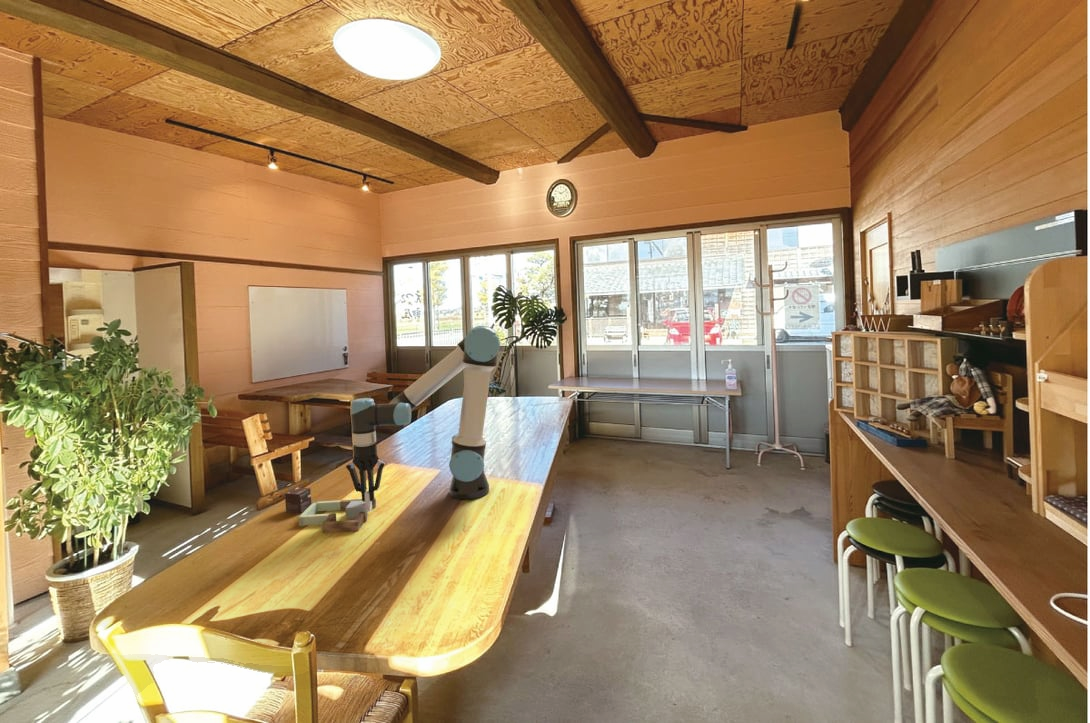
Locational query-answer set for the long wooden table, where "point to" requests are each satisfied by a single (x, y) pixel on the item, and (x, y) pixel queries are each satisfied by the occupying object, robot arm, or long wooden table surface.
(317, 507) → the bay
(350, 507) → the grey square block
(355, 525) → the open corridor walls
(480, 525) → the long wooden table surface
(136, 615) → the long wooden table surface
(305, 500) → the box
